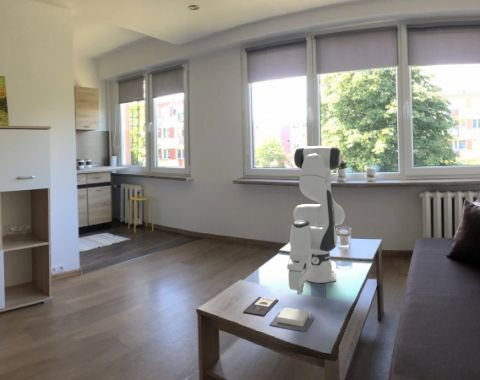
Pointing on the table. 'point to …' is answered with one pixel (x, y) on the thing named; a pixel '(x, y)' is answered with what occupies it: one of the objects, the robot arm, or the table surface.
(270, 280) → the table surface
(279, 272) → the table surface
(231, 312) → the table surface
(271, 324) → the mat
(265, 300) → the chocolate bar
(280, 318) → the tile
